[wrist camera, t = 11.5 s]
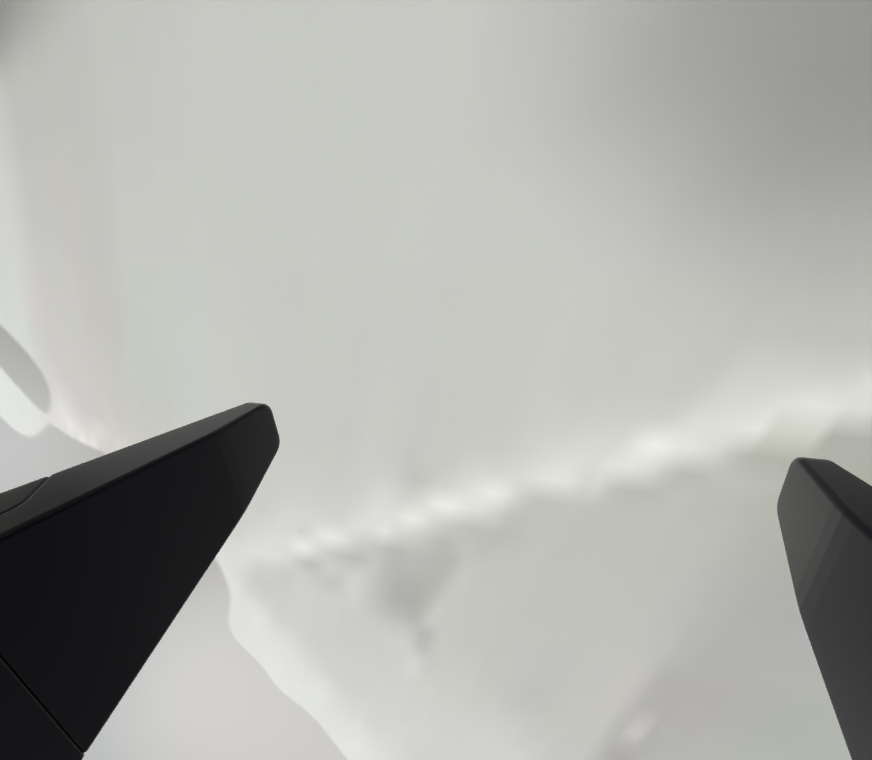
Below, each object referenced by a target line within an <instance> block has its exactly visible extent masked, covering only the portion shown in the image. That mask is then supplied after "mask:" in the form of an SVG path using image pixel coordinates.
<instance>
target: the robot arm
mask: <svg viewBox="0 0 872 760" xmlns="http://www.w3.org/2000/svg"><path fill="white" fill-rule="evenodd" d="M279 442H280V440H279V434H278V431H277V427H276V424H275V420H274V417H273V413H272V410H271V409H270V407H269V406H268V405H266V404H260V403H245V404H243V405H240V406H237V407H234V408H232V409H229V410H226V411H224V412H221V413H218V414H215V415H213V416H210V417H207V418H205V419H202V420H199V421H196V422H194V423H191V424H188V425H186V426H183V427H180V428H177V429H175V430H172V431H169V432H167V433H164V434H161V435H158V436H156V437H153V438H150V439H148V440H145V441H142V442H139V443H137V444H134V445H131V446H128V447H126V448H123V449H120V450H118V451H115V452H112V453H109V454H107V455H104V456H101V457H99V458H96V459H93V460H91V461H88V462H85V463H82V464H80V465H77V466H74V467H72V468H69V469H66V470H63V471H61V472H58V473H55V474H53V475H51V476H50V477H44V478H41V479H39V480H36V481H33V482H30V483H28V484H25V485H22V486H19V487H17V488H14V489H11V490H8V491H6V492H3V493H0V760H82V759H83V757H84V752H86V751H87V750H88V749H89V747H90V746H91V744H92V743H93V741H94V740H95V738H96V737H97V735H98V734H99V732H100V731H101V729H102V728H103V726H104V725H105V723H106V722H107V720H108V718H109V717H110V715H111V714H112V712H113V711H114V709H115V708H116V706H117V705H118V703H119V702H120V700H121V699H122V697H123V696H124V694H125V693H126V691H127V690H128V688H129V687H130V685H131V684H132V682H133V681H134V679H135V678H136V676H137V675H138V673H139V672H140V670H141V669H142V667H143V666H144V664H145V663H146V661H147V660H148V658H149V656H150V655H151V653H152V652H153V650H154V649H155V647H156V646H157V644H158V643H159V641H160V640H161V638H162V637H163V635H164V634H165V632H166V631H167V629H168V628H169V626H170V625H171V623H172V622H173V620H174V619H175V617H176V615H177V614H178V613H179V611H180V609H181V608H182V607H183V605H184V604H185V602H186V601H187V599H188V597H189V596H190V595H191V593H192V591H193V590H194V588H195V587H196V585H197V584H198V582H199V581H200V579H201V578H202V576H203V575H204V573H205V572H206V570H207V569H208V567H209V566H210V564H211V563H212V561H213V560H214V558H215V557H216V555H217V554H218V552H219V551H220V549H221V548H222V546H223V545H224V543H225V542H226V540H227V539H228V537H229V536H230V534H231V533H232V531H233V529H234V528H235V526H236V525H237V523H238V522H239V520H240V519H241V517H242V516H243V514H244V512H245V511H246V509H247V507H248V505H249V503H250V502H251V500H252V498H253V496H254V494H255V492H256V490H257V488H258V486H259V485H260V483H261V481H262V479H263V477H264V475H265V473H266V471H267V469H268V468H269V466H270V464H271V462H272V460H273V458H274V456H275V454H276V452H277V450H278V448H279ZM777 512H778V518H779V523H780V527H781V532H782V536H783V541H784V545H785V550H786V554H787V559H788V563H789V568H790V572H791V577H792V581H793V586H794V590H795V595H796V599H797V603H798V607H799V611H800V614H801V617H802V620H803V623H804V626H805V629H806V632H807V635H808V637H809V640H810V643H811V646H812V649H813V651H814V654H815V657H816V660H817V663H818V665H819V668H820V671H821V674H822V677H823V680H824V682H825V685H826V688H827V691H828V694H829V696H830V699H831V702H832V705H833V708H834V710H835V713H836V716H837V719H838V722H839V724H840V727H841V730H842V733H843V736H844V739H845V741H846V744H847V747H848V750H849V753H850V755H851V758H852V760H872V486H871V485H869V484H867V483H866V482H864V481H863V480H861V479H859V478H858V477H856V476H855V475H853V474H851V473H850V472H848V471H846V470H845V469H843V468H842V467H840V466H838V465H837V464H835V463H834V462H832V461H829V460H825V459H814V458H804V457H798V458H796V459H794V460H793V462H792V463H791V465H790V467H789V470H788V473H787V475H786V478H785V481H784V484H783V487H782V490H781V493H780V495H779V499H778V504H777Z"/></svg>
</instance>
